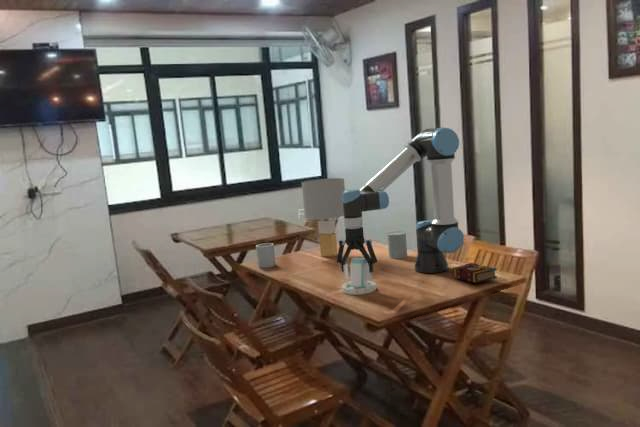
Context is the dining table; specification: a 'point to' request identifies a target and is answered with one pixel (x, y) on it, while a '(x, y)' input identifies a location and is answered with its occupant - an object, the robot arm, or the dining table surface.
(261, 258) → the cup
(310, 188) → the lamp
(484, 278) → the decorative book
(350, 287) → the saucer
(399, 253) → the grey concrete cylinder
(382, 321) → the dining table surface
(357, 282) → the can
